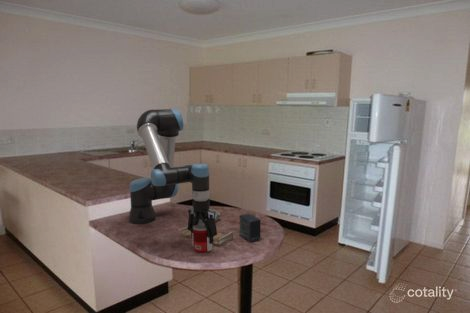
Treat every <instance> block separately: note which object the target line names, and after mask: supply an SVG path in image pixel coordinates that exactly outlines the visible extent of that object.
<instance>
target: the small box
mask: <svg viewBox="0 0 470 313" xmlns="http://www.w3.org/2000/svg"><path fill="white" fill-rule="evenodd" d="M239 236H240V237H241V238H243V239H244V240H246V241H247V242H248V243H253V242H256V241H261V219H260V218H259V217H257V216H254V215H253V214H251V213H246V214H240V215H239Z"/></svg>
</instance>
